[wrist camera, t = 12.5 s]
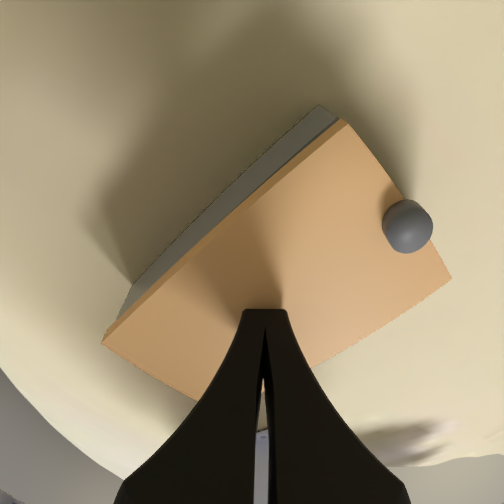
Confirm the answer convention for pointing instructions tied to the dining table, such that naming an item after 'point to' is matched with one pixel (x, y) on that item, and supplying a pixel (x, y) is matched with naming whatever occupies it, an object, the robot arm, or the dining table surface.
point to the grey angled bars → (235, 196)
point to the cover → (289, 267)
